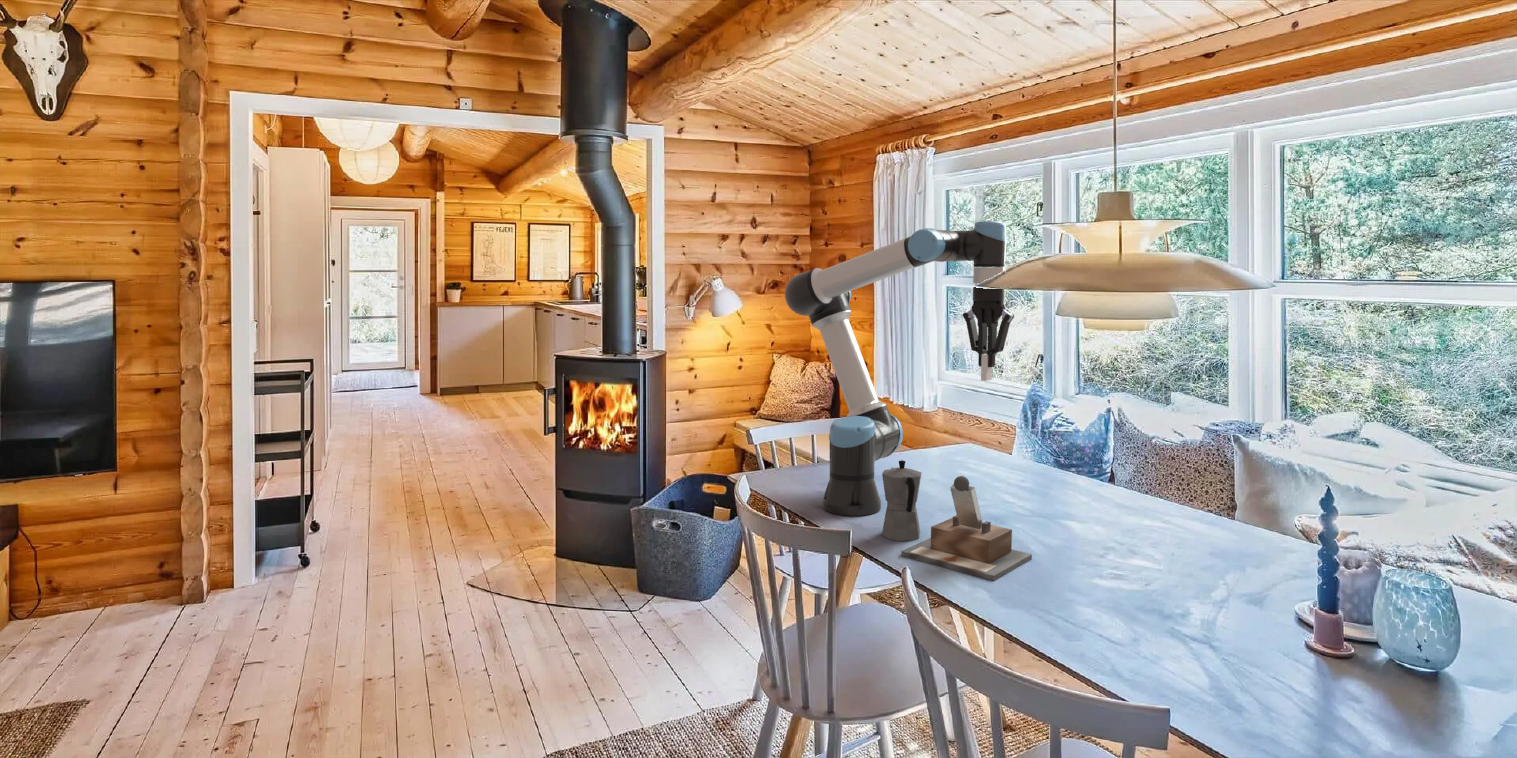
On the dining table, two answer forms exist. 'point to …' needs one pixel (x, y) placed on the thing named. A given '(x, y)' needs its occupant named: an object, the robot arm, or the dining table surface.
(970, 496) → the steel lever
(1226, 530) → the dining table surface
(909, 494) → the coffeepot
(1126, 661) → the dining table surface
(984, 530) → the switch unit
